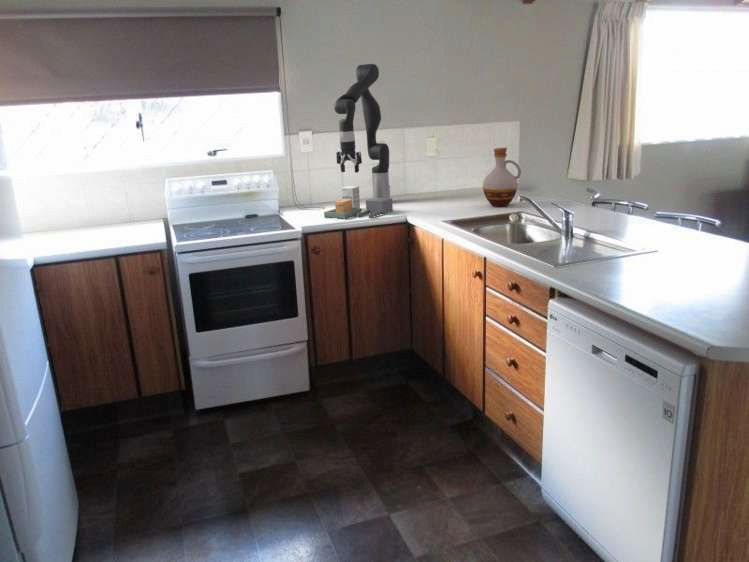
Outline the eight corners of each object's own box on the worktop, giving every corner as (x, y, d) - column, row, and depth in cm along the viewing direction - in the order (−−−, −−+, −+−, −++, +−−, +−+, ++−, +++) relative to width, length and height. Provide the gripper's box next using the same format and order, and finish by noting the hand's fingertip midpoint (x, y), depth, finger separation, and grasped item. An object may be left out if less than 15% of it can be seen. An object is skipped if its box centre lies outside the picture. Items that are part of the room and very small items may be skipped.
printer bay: (377, 210, 339) (376, 197, 337) (392, 211, 334) (392, 198, 332) (355, 217, 324) (354, 203, 322) (371, 218, 318) (370, 204, 316)
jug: (518, 202, 342) (519, 145, 333) (522, 208, 325) (523, 148, 316) (481, 203, 344) (481, 147, 335) (483, 209, 327) (483, 150, 318)
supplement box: (342, 211, 342) (340, 187, 339) (348, 208, 349) (347, 185, 345) (353, 211, 339) (352, 188, 335) (360, 209, 345) (359, 185, 342)
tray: (341, 212, 338) (341, 206, 338) (361, 214, 331) (361, 208, 330) (324, 217, 327) (323, 212, 326) (344, 219, 320) (344, 213, 319)
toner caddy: (345, 212, 334) (344, 199, 332) (352, 212, 331) (352, 199, 329) (334, 215, 327) (333, 202, 325) (342, 216, 324) (341, 202, 322)
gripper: (363, 139, 320) (365, 171, 325) (340, 139, 328) (343, 170, 333) (354, 141, 314) (357, 174, 319) (331, 141, 322) (334, 173, 327)
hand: (350, 172), depth 326 cm, fingers open, 8 cm apart
